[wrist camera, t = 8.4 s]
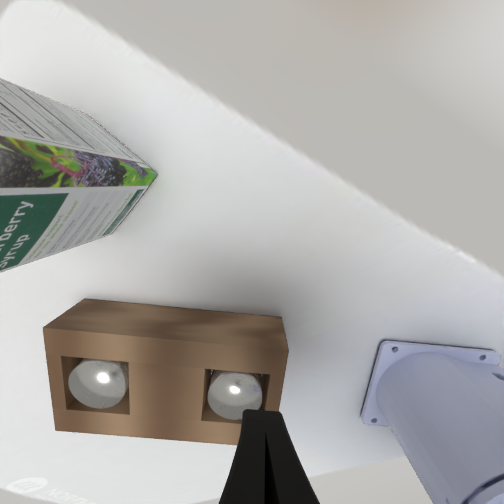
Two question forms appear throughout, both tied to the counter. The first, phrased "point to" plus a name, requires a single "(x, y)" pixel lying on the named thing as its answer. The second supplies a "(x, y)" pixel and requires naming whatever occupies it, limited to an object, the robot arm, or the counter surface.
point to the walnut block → (162, 367)
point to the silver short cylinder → (234, 393)
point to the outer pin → (99, 382)
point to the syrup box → (59, 178)
